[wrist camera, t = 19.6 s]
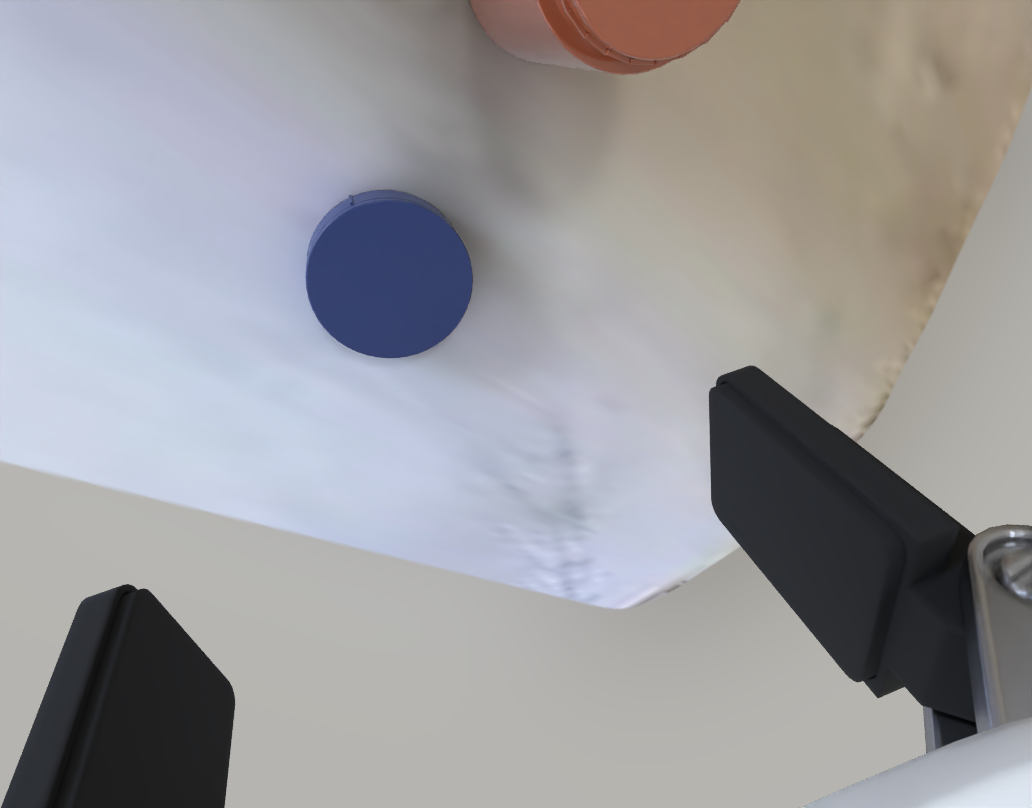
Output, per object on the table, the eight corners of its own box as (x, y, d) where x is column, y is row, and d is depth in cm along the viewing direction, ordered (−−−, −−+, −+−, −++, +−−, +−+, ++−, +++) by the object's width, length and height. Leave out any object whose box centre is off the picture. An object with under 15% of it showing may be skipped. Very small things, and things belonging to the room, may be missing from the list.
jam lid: (273, 229, 24) (270, 242, 23) (425, 160, 25) (432, 169, 23) (354, 363, 28) (356, 382, 27) (486, 302, 28) (495, 318, 27)
